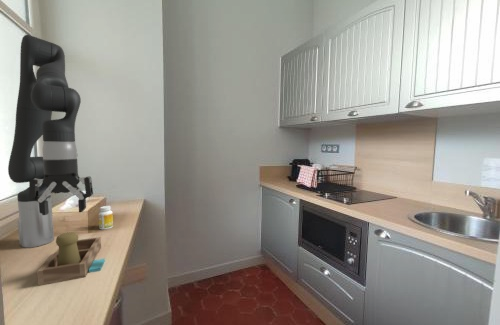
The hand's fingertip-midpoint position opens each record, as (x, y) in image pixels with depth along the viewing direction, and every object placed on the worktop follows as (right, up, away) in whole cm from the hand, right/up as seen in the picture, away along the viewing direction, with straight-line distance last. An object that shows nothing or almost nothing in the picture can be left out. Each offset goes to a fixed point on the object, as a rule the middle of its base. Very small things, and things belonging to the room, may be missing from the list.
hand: (64, 212), depth 67 cm
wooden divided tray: (0, -17, +7) cm, 19 cm away
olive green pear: (0, -17, +2) cm, 18 cm away
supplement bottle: (-11, -15, +38) cm, 42 cm away
